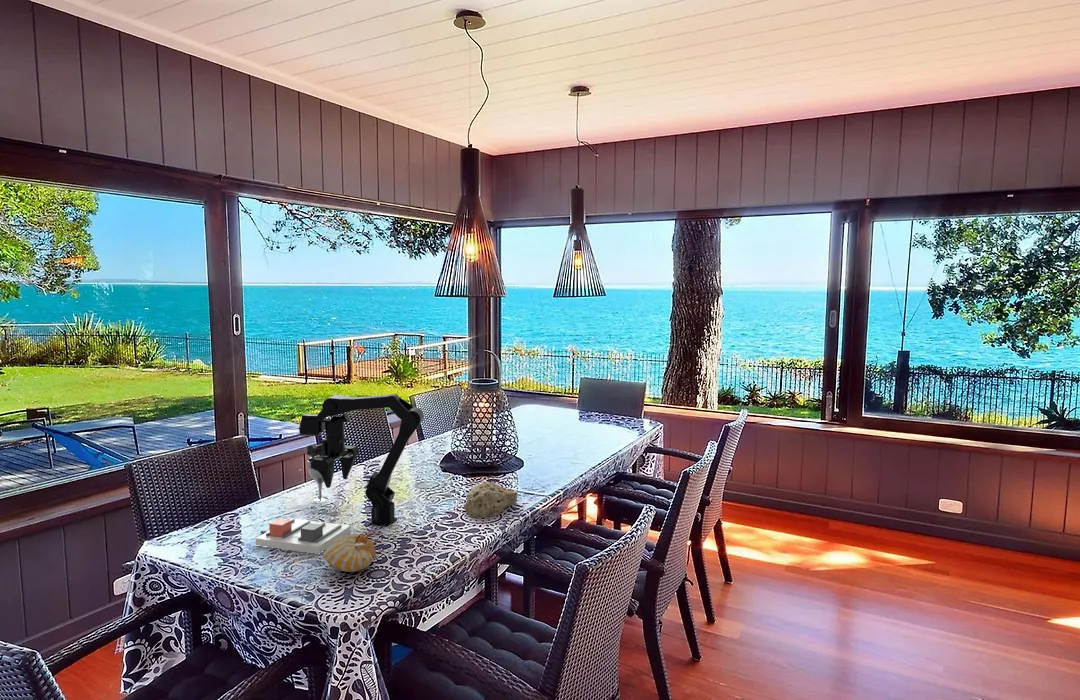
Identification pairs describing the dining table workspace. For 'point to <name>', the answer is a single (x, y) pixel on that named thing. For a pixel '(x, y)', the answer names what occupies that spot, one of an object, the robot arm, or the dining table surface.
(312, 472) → the wine glass
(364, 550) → the nautilus
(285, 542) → the white flat slab
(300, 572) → the dining table surface
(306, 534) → the grey cube
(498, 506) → the rock
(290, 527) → the red switch
